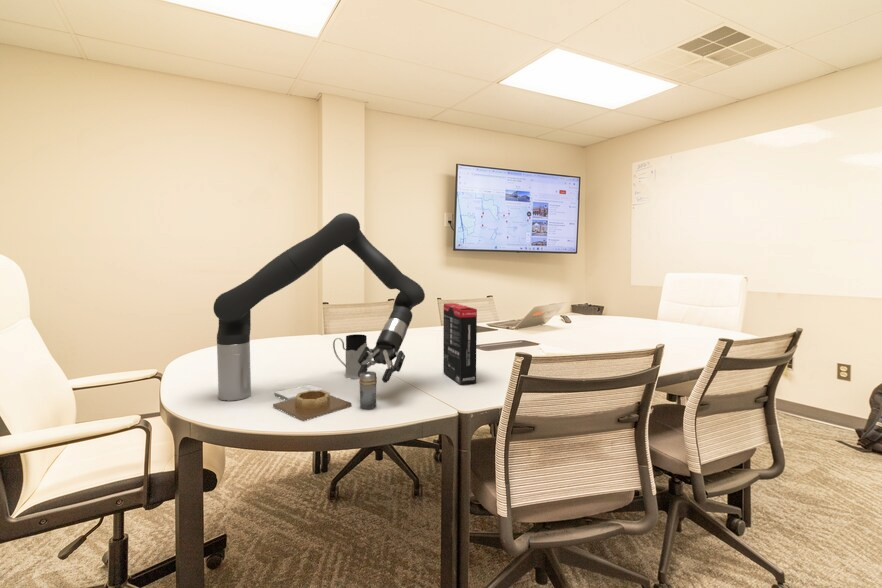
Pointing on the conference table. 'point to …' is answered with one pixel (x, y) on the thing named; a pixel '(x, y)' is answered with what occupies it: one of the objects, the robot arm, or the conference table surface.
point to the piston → (367, 390)
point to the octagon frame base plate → (312, 404)
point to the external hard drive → (294, 392)
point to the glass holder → (352, 353)
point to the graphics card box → (460, 343)
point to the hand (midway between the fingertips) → (371, 379)
